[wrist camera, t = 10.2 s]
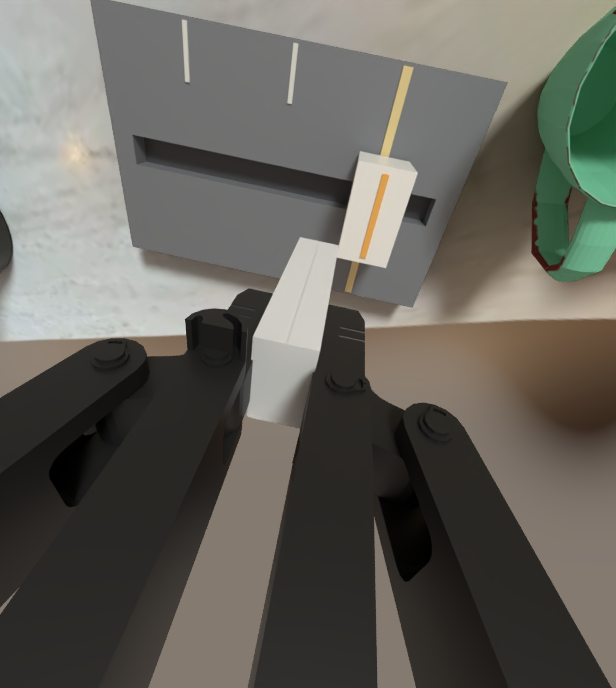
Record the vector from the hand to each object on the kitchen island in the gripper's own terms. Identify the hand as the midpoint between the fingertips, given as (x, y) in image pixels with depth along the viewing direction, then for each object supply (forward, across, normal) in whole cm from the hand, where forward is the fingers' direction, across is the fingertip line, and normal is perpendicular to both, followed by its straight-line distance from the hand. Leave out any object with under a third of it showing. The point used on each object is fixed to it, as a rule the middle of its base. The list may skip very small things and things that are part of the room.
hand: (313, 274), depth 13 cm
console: (+18, -4, 0) cm, 18 cm away
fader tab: (+16, +3, 0) cm, 16 cm away
